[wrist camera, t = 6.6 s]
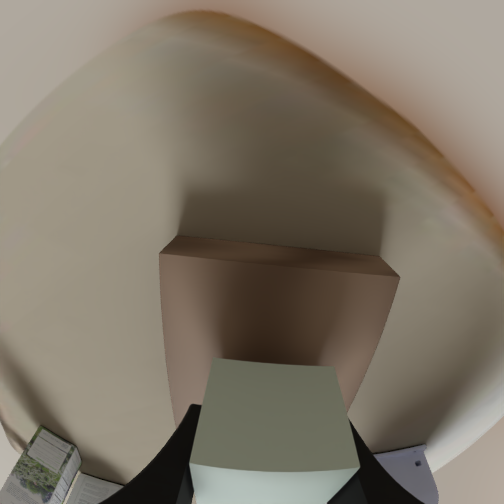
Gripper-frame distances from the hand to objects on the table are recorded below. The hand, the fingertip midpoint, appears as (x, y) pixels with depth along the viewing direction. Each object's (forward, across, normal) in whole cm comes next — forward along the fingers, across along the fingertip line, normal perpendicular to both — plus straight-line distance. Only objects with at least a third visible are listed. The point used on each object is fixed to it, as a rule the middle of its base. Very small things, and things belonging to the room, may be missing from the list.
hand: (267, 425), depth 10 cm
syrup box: (+6, +23, +23) cm, 33 cm away
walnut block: (+6, 0, 0) cm, 6 cm away
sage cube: (+2, 0, 0) cm, 2 cm away
